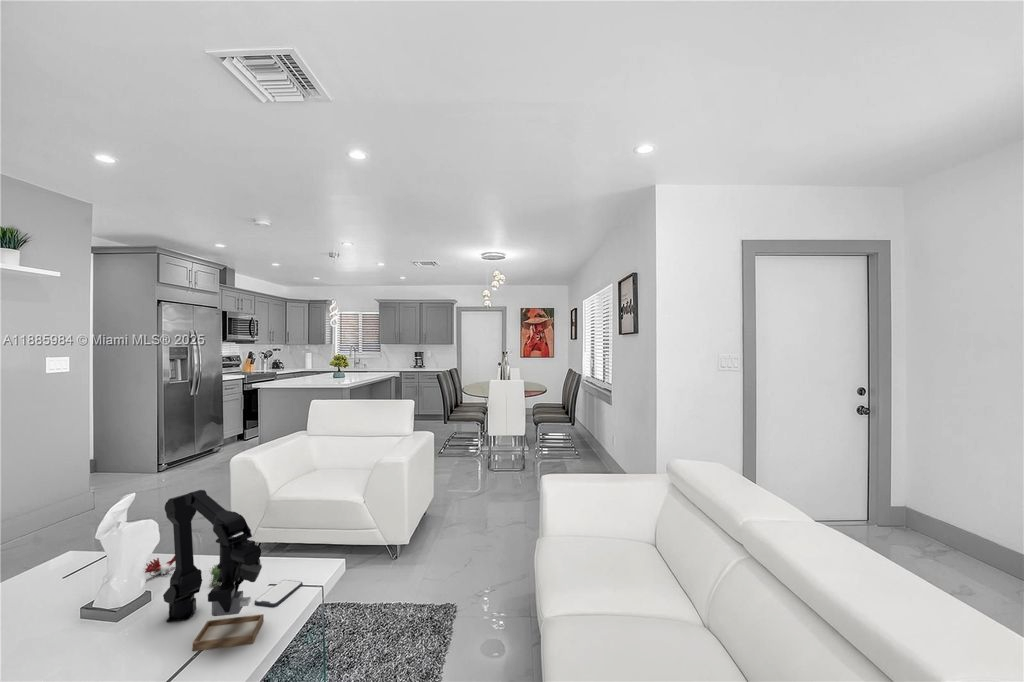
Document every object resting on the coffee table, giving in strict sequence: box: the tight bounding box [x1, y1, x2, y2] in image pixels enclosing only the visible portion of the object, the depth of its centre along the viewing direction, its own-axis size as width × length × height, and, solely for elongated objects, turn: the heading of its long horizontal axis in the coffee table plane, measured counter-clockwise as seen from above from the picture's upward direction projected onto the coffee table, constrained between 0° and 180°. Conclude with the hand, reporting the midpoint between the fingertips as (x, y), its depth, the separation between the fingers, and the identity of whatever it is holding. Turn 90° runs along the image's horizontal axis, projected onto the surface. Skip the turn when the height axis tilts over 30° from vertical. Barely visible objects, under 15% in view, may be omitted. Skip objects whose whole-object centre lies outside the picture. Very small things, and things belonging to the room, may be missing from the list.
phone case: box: [254, 579, 303, 608], centre depth 168 cm, size 9×2×16 cm
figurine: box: [144, 555, 175, 578], centre depth 182 cm, size 15×12×7 cm
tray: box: [191, 614, 265, 652], centre depth 145 cm, size 16×11×2 cm
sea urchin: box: [201, 564, 222, 588], centre depth 174 cm, size 12×12×8 cm
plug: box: [211, 590, 252, 617], centre depth 145 cm, size 10×4×5 cm, turn 104°
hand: (229, 608), depth 145 cm, fingers closed on plug, 4 cm apart
